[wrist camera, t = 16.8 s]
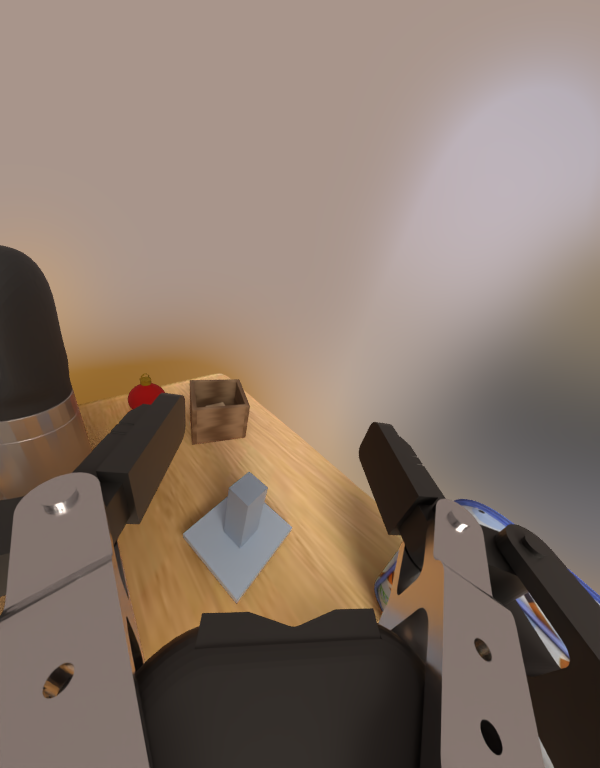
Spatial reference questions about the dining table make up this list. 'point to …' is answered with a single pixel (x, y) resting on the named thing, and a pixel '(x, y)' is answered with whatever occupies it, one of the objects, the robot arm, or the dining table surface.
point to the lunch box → (526, 601)
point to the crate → (217, 410)
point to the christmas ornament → (144, 393)
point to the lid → (238, 536)
